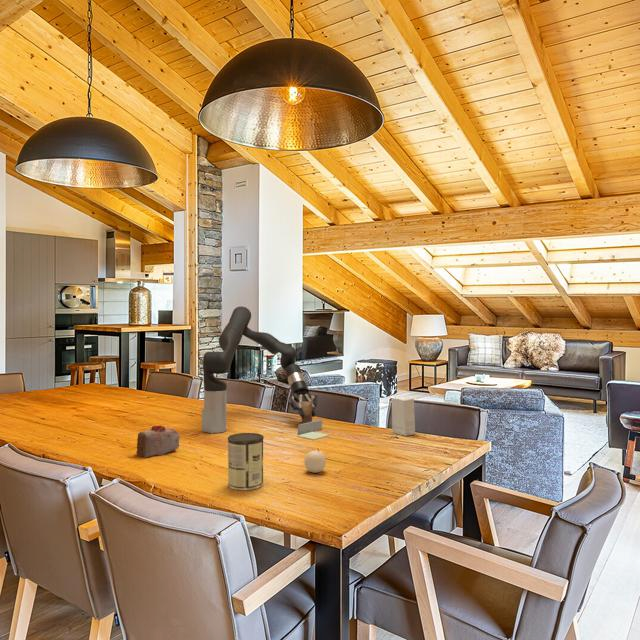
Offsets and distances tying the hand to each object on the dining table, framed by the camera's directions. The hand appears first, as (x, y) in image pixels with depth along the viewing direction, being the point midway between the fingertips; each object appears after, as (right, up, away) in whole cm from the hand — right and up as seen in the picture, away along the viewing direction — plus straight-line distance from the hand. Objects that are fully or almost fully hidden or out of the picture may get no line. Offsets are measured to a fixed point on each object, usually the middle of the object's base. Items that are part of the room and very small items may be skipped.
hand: (308, 416), depth 235 cm
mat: (+2, -5, -15) cm, 16 cm away
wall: (+1, -5, -7) cm, 9 cm away
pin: (-1, -5, +2) cm, 6 cm away
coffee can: (-17, -6, -77) cm, 79 cm away
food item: (-52, -6, -43) cm, 68 cm away
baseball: (+3, -6, -64) cm, 64 cm away
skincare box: (+39, -6, -9) cm, 41 cm away
